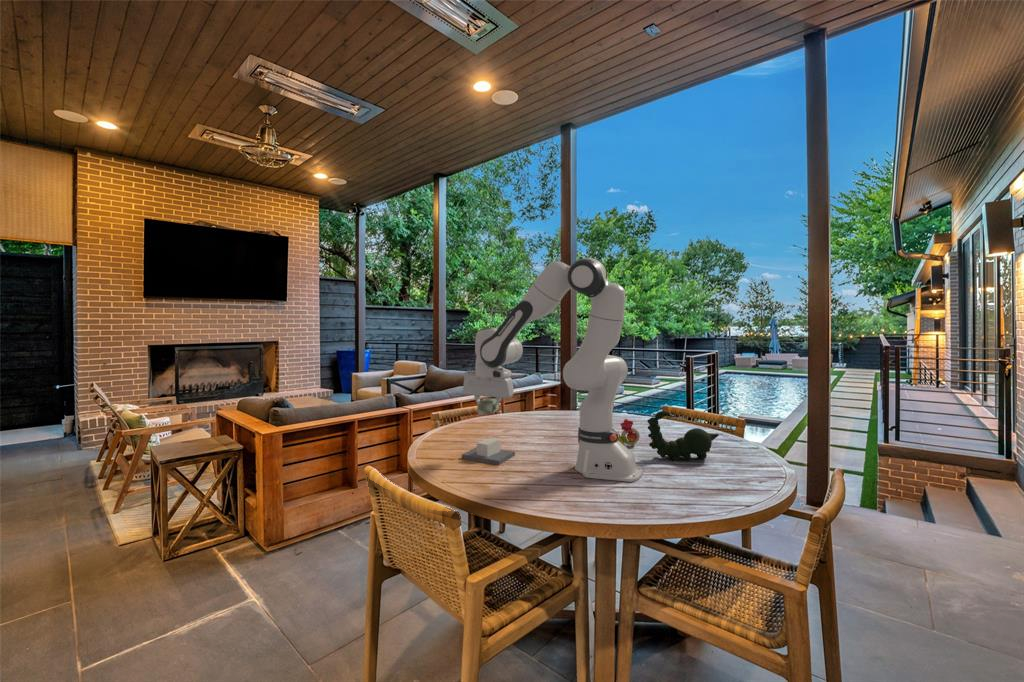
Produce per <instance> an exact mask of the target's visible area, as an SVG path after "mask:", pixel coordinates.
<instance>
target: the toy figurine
mask: <svg viewBox="0 0 1024 682" xmlns="http://www.w3.org/2000/svg"><path fill="white" fill-rule="evenodd" d="M672 416H673V415H672V414H671V413H670V412H668V411H666V410H660V411H657V412H656V413H655V416H651V417H649V419H647V421H646V422H647V423H648V424H649V425H648V426H647V429H648V430H649V432H650V433H648V435H647V437H648V438H649V439H650V440H651V442H649V444H648V445H649V447H651V449H653V450H655V449H656V453H657V455H659V456H660V457H661V459H665V458H666V457H668V458H671V460H672V461H674V462H676V461H678V460H679V457H682V458H684V460H687V461H689V460H691V458H692V455H691V454H693V455H696V457H697V458H698V459H700V460H705V459H707V456H708V455H707V453H709V452H710V451H711V447H712V444H713V443H712V442H713V441H714V440H715V439H716V438H718V437H719V436H720V435H719V434H718V433H709V432H707V431H706V430H704V429H703V428H697V427H695V428H691V429H689V430H688V431H686V432H685V433H684V435H683V437H679V438H676V439H675V440H671V441H667V440H666V439H665V438H664V437H663V433H662V432H661V426H660V425H659V420H661V419H663V418H664V417H668V418H672Z"/></svg>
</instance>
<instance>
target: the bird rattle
mask: <svg viewBox="0 0 1024 682" xmlns="http://www.w3.org/2000/svg"><path fill="white" fill-rule="evenodd" d="M633 425H634V421H633V420H629V419H627V418H625V419H624V420H623V422H621V423H620V427H621V430H622V432H621V434H620V433H619V435H618V441H619V442H621V443H622V444H623V445H624V446H625V447H627V446H626V445H628V446H633V447H634V446H635V445H636V444H637V443H638V442H639V440H640V433H639V431H638V430H637V429H636V428H635V427H632V426H633Z"/></svg>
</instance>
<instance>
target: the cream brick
mask: <svg viewBox="0 0 1024 682" xmlns="http://www.w3.org/2000/svg"><path fill="white" fill-rule="evenodd" d="M476 447H477V455H481V456H485V457H489V456H491V455H493V454H496V453H498V452H500V449H501V439H500V438H493V437H488V438H486V439H483V440H480V441H478V442H476Z"/></svg>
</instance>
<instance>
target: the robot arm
mask: <svg viewBox="0 0 1024 682" xmlns="http://www.w3.org/2000/svg"><path fill="white" fill-rule="evenodd" d="M571 289H573V290H574V291H575V292H577V293H580V294H581V295H583V296H585V297H587V298H590V301H591V304H590V305H591V306H590V310H589V315H588V321H587V324H586V331H585V335H584V338H583V340H582V342H581V344H580V346H579V348H578V349H577V351H576V353H575V354H574V355H573V356H572V358H570V359H569V360H568V361H567V362H566V363H565V364H564V367H563V369H562V378H563V381H564V383H565V385H566V386H567V387H568V388H570V389H573V390H578V391H579V390H580V391H588V390H589V391H588V393H587V396H586V397H585V398H584V399H583V400H582V401H581V403H580V405H579V426H578V429H577V430H578V431H577V442H578V451H577V458H576V462H575V466H574V469H575V471H576V472H578V473H580V474H581V475H582V476H583V477H584V478H587V479H588V478H589V479H597V480H598V479H599V480H606V481H619V482H628V483H629V482H630V483H631V482H635V481H638V480H639V479H641V477H642V476H643V474H644V471H643V468H642V467H641V466H640V465H637V462H636V457H635V455H634V452H633V451H632V450H630V449H629V448H628V447H627V446H626V447H625V446H624V445H623V444H622V443H621V442H619V441H618V437H619V434H620V430H617V431H616V429H614V427H613V419H614V417H613V415H614V413H613V412H614V404H615V400H616V396H617V393H618V391H619V389H620V387H621V385H622V383H624V381H625V380H626V378H627V377H628V374H629V373H628V364H627V363H626V361H625V360H624V359H623V358H622V357H621V356H617V355H611V354H609V353H610V352H611V351H612V349H614V348H615V347H616V346H617V345H618V344H619V341H620V338H621V333H622V328H623V322H624V319H625V311H626V291H625V289H624V287H622V286H621V285H619V284H618V283H615V282H610V281H609V280H608V269H607V267H606V265H605V263H603V261H602V260H599V259H598V258H593V257H584V258H581V259H578V260H576V261H574V262H573V263H572V264H571V265H569V264H566V263H564V262H563V261H559V260H554V261H551V262H550V263H549V264H548V265H547V266H545V268H544V269H543V270H542V271H541V272H540V274H539V275H538V276H537V277H536V279H535V280H534V281H533V283H532V285H531V286H530V288H529V289H528V290H527V292H526V293H525V295H523V297H522V298H521V300H519V302H518V303H517V304H516V306H515V307H514V308H513V309H512V310H511V311H510V313H509V314H508V315H507V317H506V318H505V319H504V320H503V321H502V323H501V324H500V325H499V327H498V328H497V327H492V326H491V327H484V328H481V329H479V330H478V331H477V332H476V335H475V341H474V342H475V343H474V345H475V346H474V351H475V352H474V353H475V357H476V359H475V370H470V369H469V370H468V369H467V370H466V371H465V372H464V374H463V387H462V393H464V395H467V396H473V398H474V400H475V403H476V404H477V405H476V407H477V408H478V402H479V401H481V397H487V398H489V397H490V398H494V399H495V400H497V401H496V403H495V404H493V409H500V406H499V405H500V403H501V401H502V399H509V398H512V397H513V396H514V382H513V378H511V376H512V371H511V370H510V369H507V368H505V367H503V366H504V365H509V364H513V363H516V362H518V361H519V360H521V358H522V357H523V354H524V347H523V344H522V342H521V340H519V339H518V338H517V336H518V334H519V333H520V332H521V330H523V328H524V327H525V326H526V325H528V324H530V323H531V322H534V321H536V320H538V319H542V318H545V317H547V316H548V315H550V314H551V313H552V312H553V311H554V310H555V309H556V308H557V306H558V305H559V304H560V302H561V301H562V299H563V298H564V297H565V295H566V294H567V293H568V292H569V290H571Z"/></svg>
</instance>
